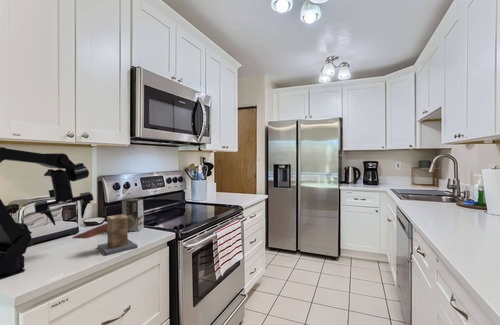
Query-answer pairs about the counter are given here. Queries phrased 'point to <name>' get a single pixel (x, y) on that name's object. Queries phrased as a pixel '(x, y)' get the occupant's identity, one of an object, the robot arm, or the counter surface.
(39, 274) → the counter surface
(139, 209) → the coffee box
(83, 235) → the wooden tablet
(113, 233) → the tan square box
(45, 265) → the counter surface
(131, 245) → the flat gray plate
